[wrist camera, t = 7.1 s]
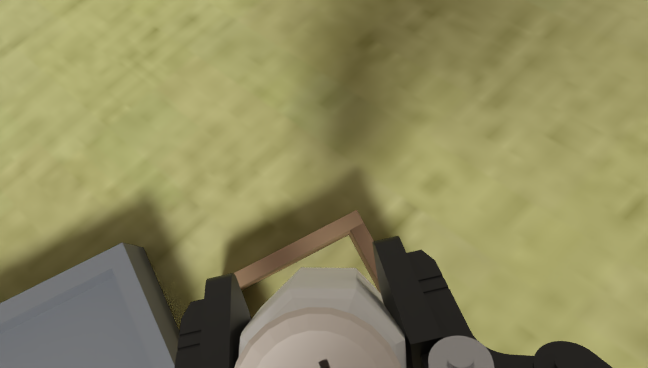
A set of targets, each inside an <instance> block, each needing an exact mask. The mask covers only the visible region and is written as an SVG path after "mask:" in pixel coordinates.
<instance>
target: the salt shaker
mask: <svg viewBox="0 0 648 368" xmlns="http://www.w3.org/2000/svg"><path fill="white" fill-rule="evenodd" d="M234 368H406V346H405V335H404V333H403V332H402V330H401V329H400V327H399V326H398V324H397V323H396V321H395V320H394V318H393V317H392V316H391V314H390V313H389V311H388V310H387V308H386V307H385V305H384V303H383V300H382V296H381V293H380V292H379V291H378V290H377V289H376V288H375V287H374V286H373V285H372V284H371V283H370V282H369V281H368V280H367V279H366V278H365V277H364V276H363V275H362V274H361V273H360V272H359V271H358V270H357V269H356V268H304V267H301V268H300V269H299V270H298V271H297V272H296V273H295V274H294V275H293V276H292V277H291V278H290V279H289V280H288V281H287V282H286V283H285V284H284V285H283V286H282V287H281V288H280V289H279V290H278V291H277V292H276V293H275V294H274V295H273V296H272V297H271V298H269V299H268V300H267V301H266V302H265V303H264V304H263V305H262V306H261V307H260V309H259V310H258V311H257V313H256V314H255V315H254V317H253V318H252V319H251V321H250V322H249V323H248V324H247V326H246V327H245V328H244V330H243V331H242V333H241V336H240V344H239V358H238V360H237V361H236V364H235V367H234Z"/></svg>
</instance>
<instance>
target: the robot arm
mask: <svg viewBox="0 0 648 368" xmlns="http://www.w3.org/2000/svg"><path fill="white" fill-rule="evenodd" d="M372 244H373V251H374V258H375V264H376V271H377V277H378V283H379V288H380V292H381V296H382V300H383V303H384V305H385V307H386V308H387V310H388V311H389V313H390V314H391V316H392V317H393V318H394V320H395V321H396V323H397V324H398V326H399V327H400V329H401V330H402V332H403V333H404V335H405V346H406V368H612V367H611V366H610V365H608V364H607V363H606V362H604V361H603V360H602V359H601V358H599V357H598V356H597V355H595V354H594V353H593V352H591V351H590V350H589V349H587V348H585V347H583V346H581V345H578V344H576V343H572V342H566V341H556V342H551V343H547V344H545V345H543V346H542V347H541V348H539V350H538V351H537V352H536V354H535V356H524V355H509V354H503V353H499V352H496V351H493V350H491V349H489V348H487V347H485V346H484V345H483V344H481V343H480V342H479V341H477V339H476V338H475V337H474V336H473V334H472V333H471V331H470V329H469V327H468V325H467V323H466V321H465V319H464V317H463V315H462V313H461V311H460V309H459V307H458V305H457V303H456V301H455V299H454V297H453V295H452V293H451V291H450V289H448V285H447V283H446V281H445V279H444V278H443V276H442V273H441V271H440V269H439V267H438V266H437V264H436V262H435V260H434V259H432V258H431V257H430V256H429V255H427V254H426V253H425V252H424V251H422V250H418V251H414V252H409V253H406V251H405V249H404V247H403V245H402V242H401V240H400V238H399V236H395V237H391V238H386V239H382V240H377V241H373V242H372ZM250 321H251V317H250V313H249V310H248V307H247V304H246V302H245V299H244V296H243V294H242V291H241V288H240V286H239V283H238V280H237V278H236V276H235V274H234V273H231V274H226V275H222V276H218V277H213V278H209V279H207V280H206V285H205V296H204V299H202V300H198V301H193V302H191V303H190V305H189V306H188V308H187V310H186V312H185V313H184V315H183V317H182V318H181V325H180V332H179V336H180V338H179V339H178V346H177V349H178V352H177V353H176V360H175V368H234V367H235V364H236V361H237V360H238V358H239V344H240V336H241V333H242V331H243V330H244V328H245V327H246V326H247V324H248V323H249V322H250Z"/></svg>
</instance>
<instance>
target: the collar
mask: <svg viewBox="0 0 648 368" xmlns="http://www.w3.org/2000/svg"><path fill="white" fill-rule="evenodd" d="M347 235H349V236H350V238H351V240H352V242H353V244H354V246H355V247H356V249H357V251H358V253H359V255H360V257H361V259H362V261H363V263H364V264H365V266H366V268H367V270H368V272H369V274H370V276H371V278H372V280H373V281H374V283H375V285H376V287H377V289H378V291H379V292H380V288H379V283H378V277H377V271H376V264H375V258H374V251H373V244H372V242H373V239H372V237H371V235H370V233H369V231H368V230H367V228H366V226H365V224H364V222H363V220H362V218H361V217H360V215H359V213H358V211H357V210H355V211H353V212H351V213H350V214H348V215H346V216H344V217H342V218H340V219H338V220H336V221H334V222H332V223H330V224H328V225H326V226H324V227H322V228H320V229H318V230H317V231H315V232H313V233H311V234H309V235H307V236H305V237H303V238H301V239H299V240H297V241H295V242H293V243H291V244H289V245H287V246H286V247H284V248H282V249H280V250H278V251H276V252H274V253H272V254H270V255H268V256H266V257H264V258H262V259H260V260H258V261H256V262H254V263H253V264H251V265H249V266H247V267H245V268H243V269H241V270H239V271H237V272H235V273H234V274H235V276H236V278H237V280H238V283H239V286H240V288H241V291H242V290H244V289H246V288H247V287H249V286H251V285H253V284H255V283H257V282H259V281H261V280H263V279H265V278H267V277H269V276H271V275H272V274H274V273H276V272H278V271H280V270H282V269H284V268H286V267H288V266H290V265H292V264H294V263H296V262H297V261H299V260H301V259H303V258H305V257H307V256H309V255H311V254H313V253H315V252H317V251H319V250H321V249H322V248H324V247H326V246H328V245H330V244H332V243H334V242H336V241H338V240H340V239H342V238H344V237H346V236H347ZM380 293H381V292H380Z"/></svg>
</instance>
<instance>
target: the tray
mask: <svg viewBox="0 0 648 368" xmlns="http://www.w3.org/2000/svg"><path fill="white" fill-rule="evenodd" d="M179 332H180V331H179V329H178V327H177V324H176V322H175V320H174V317H173V315H172V313H171V311H170V308H169V306H168V304H167V301H166V299H165V297H164V294H163V292H162V290H161V287H160V285H159V283H158V280H157V278H156V276H155V274H154V271H153V269H152V267H151V264H150V262H149V260H148V257H147V255H146V253H145V250H144V248H143V247H139V246H135V245H130V244H126V243H120V244H118V245H116V246H114V247H112V248H110V249H108V250H106V251H104V252H102V253H100V254H98V255H96V256H94V257H92V258H90V259H88V260H86V261H84V262H82V263H80V264H78V265H76V266H74V267H72V268H70V269H68V270H66V271H64V272H62V273H60V274H58V275H56V276H54V277H52V278H50V279H48V280H46V281H44V282H42V283H40V284H38V285H36V286H34V287H32V288H30V289H28V290H26V291H24V292H22V293H20V294H18V295H16V296H14V297H12V298H10V299H8V300H6V301H4V302H2V303H0V368H175V360H176V353H177V352H178V349H177V346H178V339H179V338H180V336H179Z"/></svg>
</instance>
